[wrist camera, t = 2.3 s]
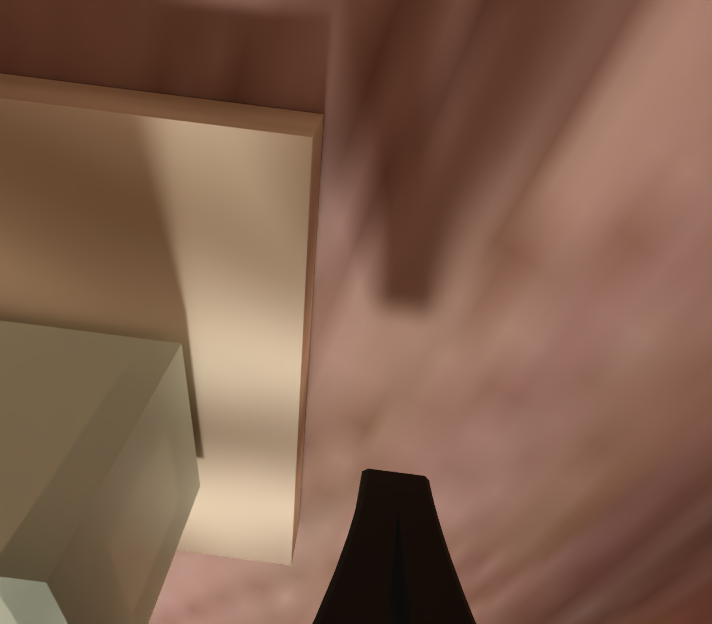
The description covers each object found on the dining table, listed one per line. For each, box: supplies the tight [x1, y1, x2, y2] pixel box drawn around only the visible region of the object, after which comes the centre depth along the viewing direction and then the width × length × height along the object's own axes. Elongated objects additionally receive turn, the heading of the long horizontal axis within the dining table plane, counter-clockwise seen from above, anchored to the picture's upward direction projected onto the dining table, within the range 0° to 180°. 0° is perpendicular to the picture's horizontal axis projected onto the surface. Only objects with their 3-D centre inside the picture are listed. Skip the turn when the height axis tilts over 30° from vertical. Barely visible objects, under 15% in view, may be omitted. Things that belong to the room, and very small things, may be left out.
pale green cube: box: [0, 321, 200, 624], centre depth 10 cm, size 5×6×5 cm
